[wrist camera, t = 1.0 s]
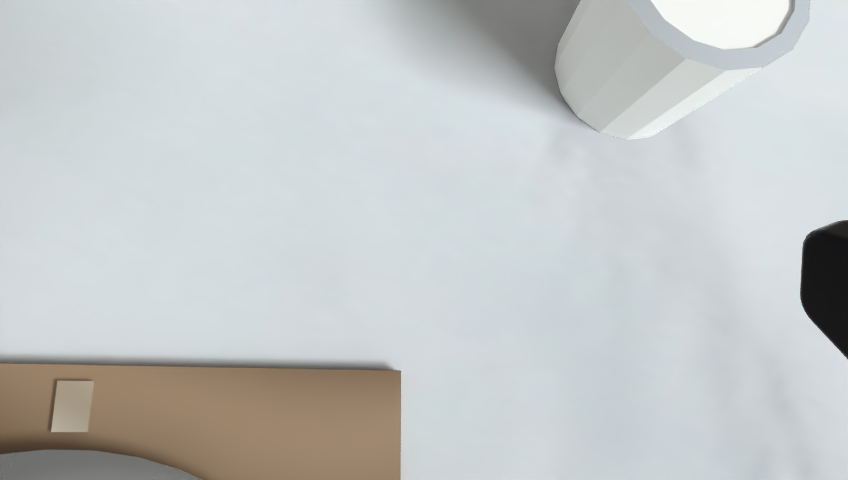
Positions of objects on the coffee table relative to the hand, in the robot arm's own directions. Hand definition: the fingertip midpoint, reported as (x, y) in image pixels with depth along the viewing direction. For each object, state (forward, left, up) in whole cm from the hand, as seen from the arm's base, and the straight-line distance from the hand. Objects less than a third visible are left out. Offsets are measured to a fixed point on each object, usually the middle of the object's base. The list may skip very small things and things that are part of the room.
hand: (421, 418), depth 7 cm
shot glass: (+14, -12, -19) cm, 26 cm away
